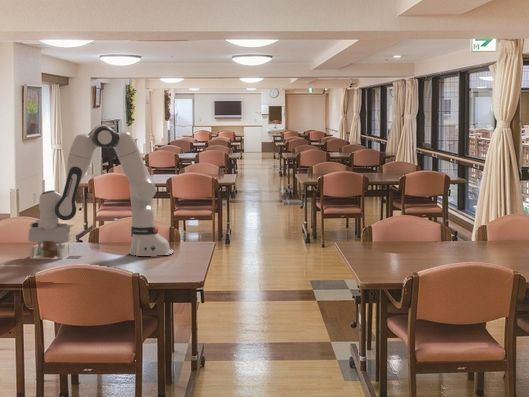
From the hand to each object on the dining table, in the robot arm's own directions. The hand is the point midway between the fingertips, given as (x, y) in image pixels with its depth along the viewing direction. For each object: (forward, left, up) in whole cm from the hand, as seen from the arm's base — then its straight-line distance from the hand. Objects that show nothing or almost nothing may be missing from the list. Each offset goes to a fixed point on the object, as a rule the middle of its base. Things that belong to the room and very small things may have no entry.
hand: (49, 250), depth 365 cm
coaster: (-13, +2, -3) cm, 13 cm away
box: (0, +1, -3) cm, 3 cm away
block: (0, 0, -3) cm, 3 cm away
